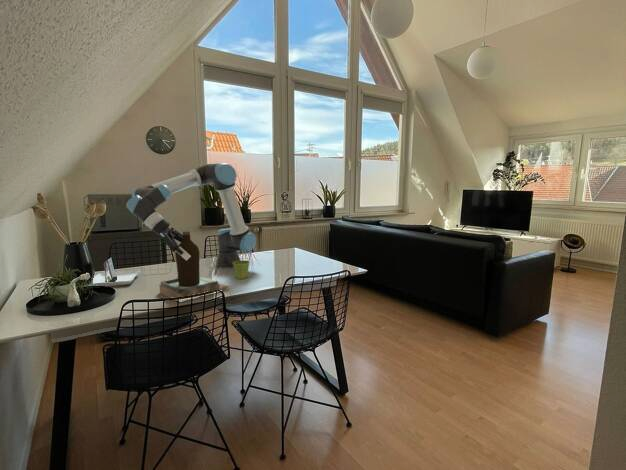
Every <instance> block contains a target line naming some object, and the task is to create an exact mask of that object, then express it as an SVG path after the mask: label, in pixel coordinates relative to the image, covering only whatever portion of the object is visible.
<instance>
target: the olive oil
mask: <svg viewBox="0 0 626 470" xmlns="http://www.w3.org/2000/svg"><path fill="white" fill-rule="evenodd" d="M182 235H183V241H182V242H180V243H179V244H178V246H179V247H181V248H182V249H184V250H185V251H186V252H187V253H188V254H189V255H190V256H191V257H190V258H189V259H188V260H187V261H186V260H185V259H184V258H183V257H182V256H181V255H179V254H178V253H177V252H176V250H175V251H174V254H175V255H174V256H175V262H176V263H175V264H176V270H177V278H178V282H179V286H182V287H190V286H195V285H198V284H199V283H200V277H201V276H200V249H199V247H198V245H197V244H195V243H194V241H192V240H191V232H190V231H183V232H182ZM179 247H178V248H179Z"/></svg>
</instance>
